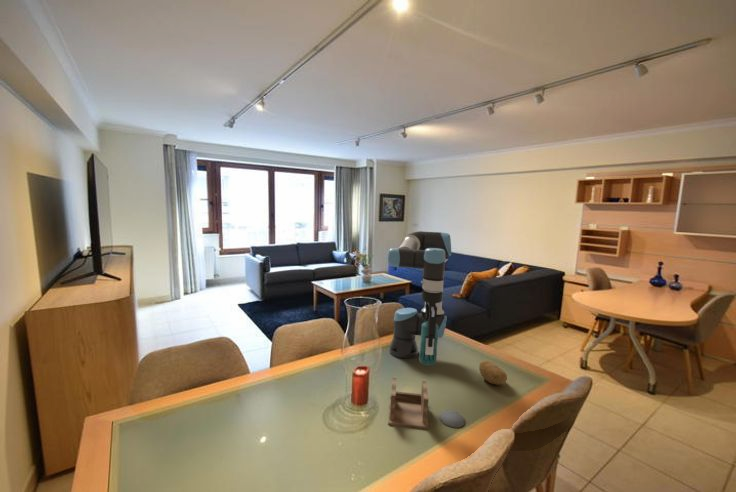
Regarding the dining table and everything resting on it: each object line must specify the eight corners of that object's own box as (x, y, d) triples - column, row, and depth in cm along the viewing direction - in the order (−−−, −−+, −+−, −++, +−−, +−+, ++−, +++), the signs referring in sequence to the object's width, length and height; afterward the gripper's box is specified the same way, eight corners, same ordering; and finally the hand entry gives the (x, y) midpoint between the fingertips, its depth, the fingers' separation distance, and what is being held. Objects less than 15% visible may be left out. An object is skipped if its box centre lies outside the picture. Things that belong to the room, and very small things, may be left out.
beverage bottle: (416, 366, 120) (419, 314, 117) (421, 359, 125) (424, 310, 123) (433, 371, 117) (437, 318, 114) (437, 363, 123) (441, 313, 120)
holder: (390, 398, 129) (391, 375, 127) (425, 401, 127) (427, 378, 126) (388, 424, 113) (389, 398, 112) (428, 429, 111) (430, 403, 110)
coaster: (438, 410, 122) (438, 409, 122) (462, 412, 121) (462, 411, 121) (440, 426, 113) (440, 424, 113) (466, 429, 112) (466, 427, 112)
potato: (494, 392, 136) (496, 374, 135) (473, 375, 149) (474, 359, 148) (512, 388, 140) (514, 371, 139) (489, 372, 153) (491, 356, 152)
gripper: (420, 283, 128) (416, 339, 130) (424, 296, 109) (420, 361, 111) (439, 284, 127) (435, 340, 130) (446, 298, 108) (441, 363, 110)
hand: (428, 350), depth 120 cm, fingers closed on beverage bottle, 6 cm apart
